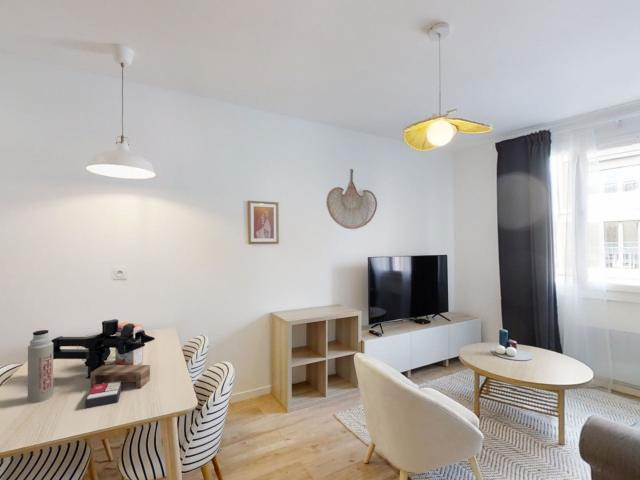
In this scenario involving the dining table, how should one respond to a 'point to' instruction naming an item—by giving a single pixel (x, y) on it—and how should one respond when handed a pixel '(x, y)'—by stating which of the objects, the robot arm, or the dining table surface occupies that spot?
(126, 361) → the cracker box
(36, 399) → the thermos bottle
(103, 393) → the calculator
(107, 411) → the dining table surface
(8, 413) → the dining table surface
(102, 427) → the dining table surface
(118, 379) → the overhang shelf
